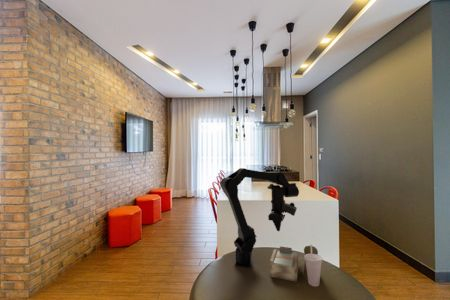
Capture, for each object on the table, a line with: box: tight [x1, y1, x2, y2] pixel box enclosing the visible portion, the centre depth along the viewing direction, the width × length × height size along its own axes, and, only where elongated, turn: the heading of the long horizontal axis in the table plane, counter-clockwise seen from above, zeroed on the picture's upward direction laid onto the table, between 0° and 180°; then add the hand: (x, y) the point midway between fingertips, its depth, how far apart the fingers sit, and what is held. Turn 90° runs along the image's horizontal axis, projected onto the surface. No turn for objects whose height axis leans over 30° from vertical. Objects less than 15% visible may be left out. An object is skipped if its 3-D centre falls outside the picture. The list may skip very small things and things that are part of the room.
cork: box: [303, 245, 319, 279], centre depth 86 cm, size 6×6×11 cm
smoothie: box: [303, 244, 324, 287], centre depth 80 cm, size 6×6×14 cm
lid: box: [274, 246, 295, 267], centre depth 89 cm, size 7×12×3 cm, turn 159°
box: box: [269, 248, 299, 283], centre depth 89 cm, size 10×12×6 cm
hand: (278, 231), depth 103 cm, fingers closed
